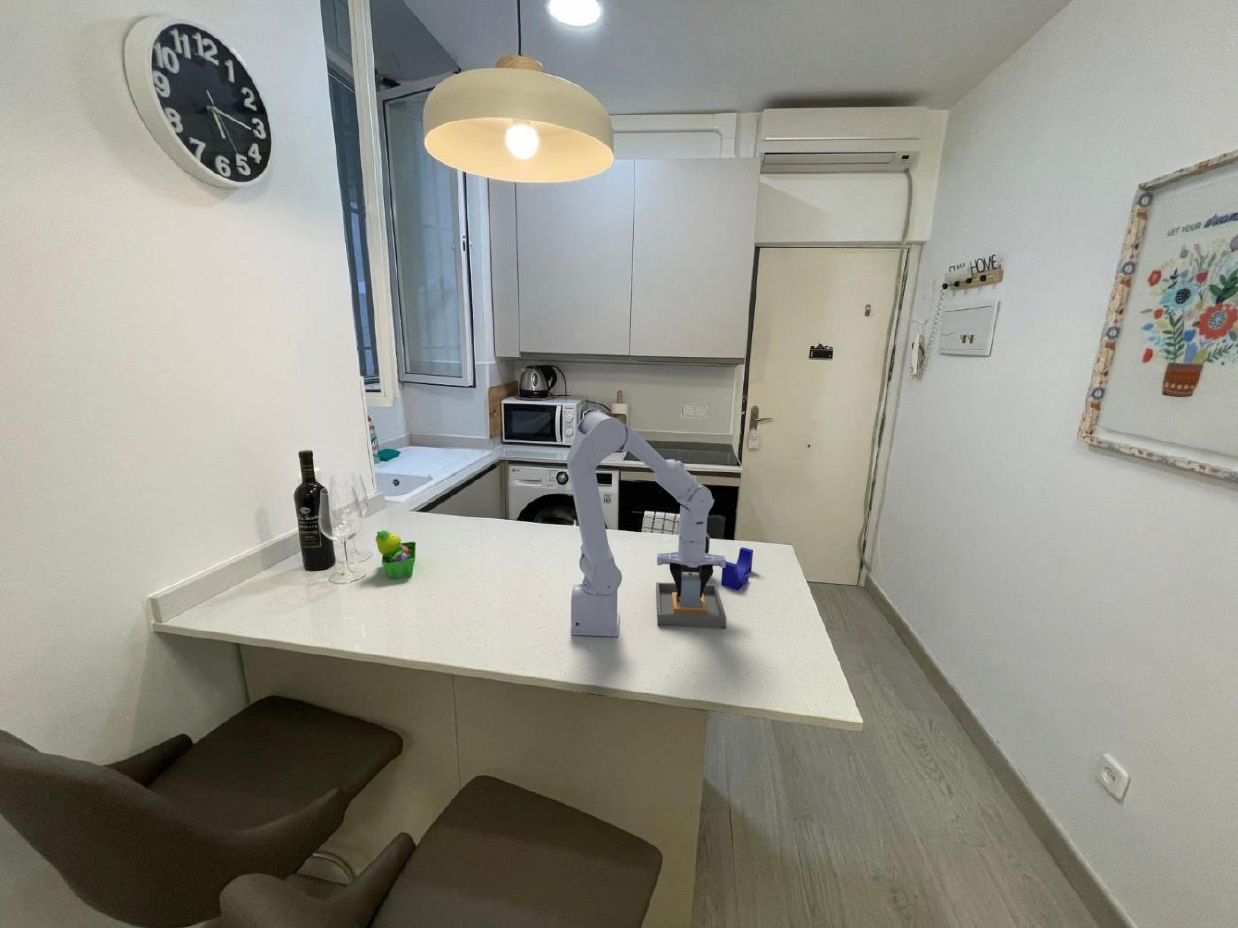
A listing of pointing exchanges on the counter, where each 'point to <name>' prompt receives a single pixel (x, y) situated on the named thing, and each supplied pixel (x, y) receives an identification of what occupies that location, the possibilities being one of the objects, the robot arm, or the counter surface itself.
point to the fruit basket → (396, 555)
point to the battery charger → (696, 569)
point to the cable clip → (738, 570)
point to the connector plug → (690, 589)
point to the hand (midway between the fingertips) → (689, 594)
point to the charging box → (689, 608)
